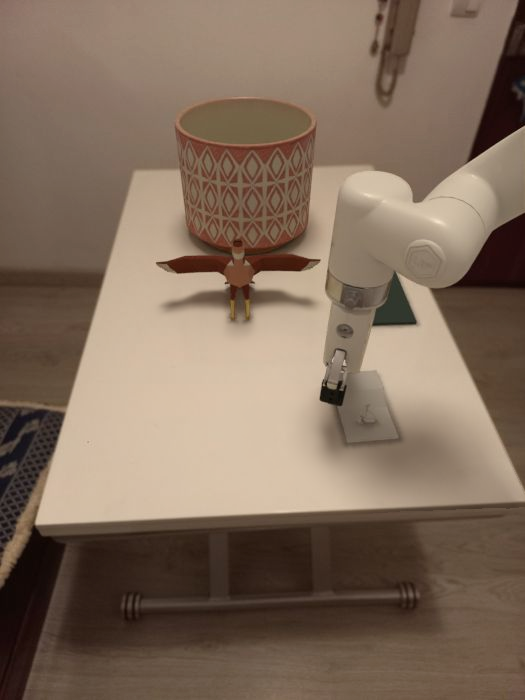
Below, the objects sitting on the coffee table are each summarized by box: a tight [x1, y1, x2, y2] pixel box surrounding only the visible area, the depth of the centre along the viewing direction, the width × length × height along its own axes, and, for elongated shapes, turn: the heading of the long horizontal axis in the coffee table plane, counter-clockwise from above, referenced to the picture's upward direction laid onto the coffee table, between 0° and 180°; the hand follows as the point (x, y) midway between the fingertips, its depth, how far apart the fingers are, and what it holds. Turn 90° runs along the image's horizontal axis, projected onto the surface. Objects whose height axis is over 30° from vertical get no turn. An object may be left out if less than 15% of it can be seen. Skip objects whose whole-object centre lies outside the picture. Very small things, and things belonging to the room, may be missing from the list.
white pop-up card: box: [336, 369, 399, 444], centre depth 68 cm, size 7×12×2 cm, turn 6°
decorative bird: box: [155, 239, 322, 320], centre depth 81 cm, size 28×18×15 cm, turn 92°
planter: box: [174, 95, 317, 255], centre depth 97 cm, size 27×27×24 cm
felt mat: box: [372, 271, 418, 326], centre depth 89 cm, size 12×18×1 cm, turn 3°
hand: (338, 377), depth 67 cm, fingers open, 9 cm apart
